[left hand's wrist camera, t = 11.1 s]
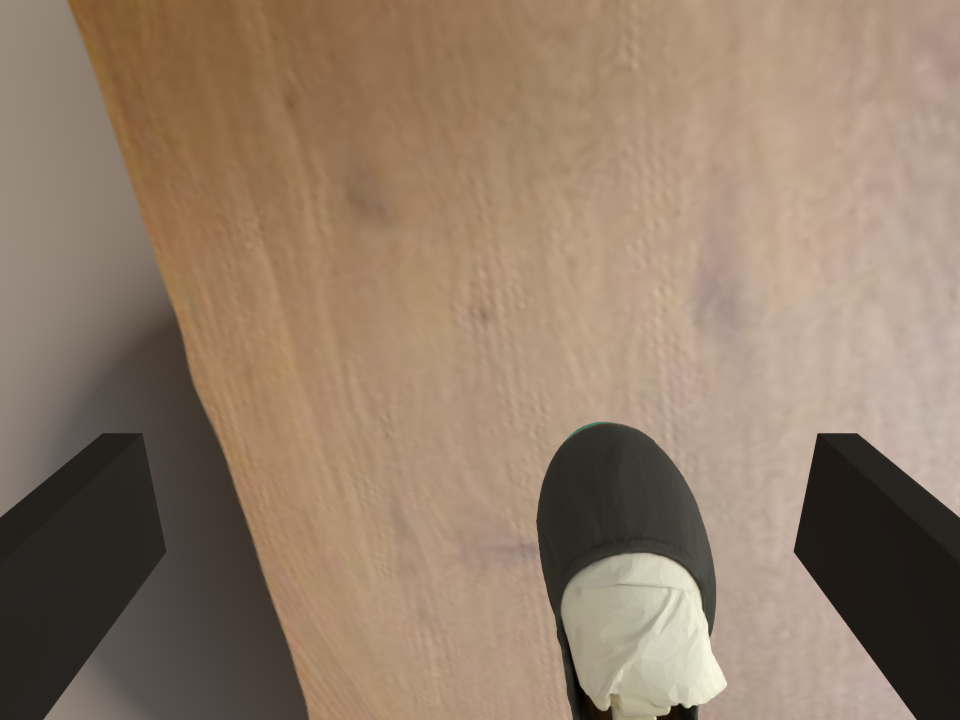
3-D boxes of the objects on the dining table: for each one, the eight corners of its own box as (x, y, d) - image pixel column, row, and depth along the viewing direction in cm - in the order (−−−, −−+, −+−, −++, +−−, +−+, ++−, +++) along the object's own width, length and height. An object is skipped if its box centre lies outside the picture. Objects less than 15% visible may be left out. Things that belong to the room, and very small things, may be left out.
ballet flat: (691, 397, 30) (760, 495, 22) (713, 761, 38) (769, 924, 31) (517, 423, 30) (526, 526, 23) (576, 775, 39) (597, 938, 31)
